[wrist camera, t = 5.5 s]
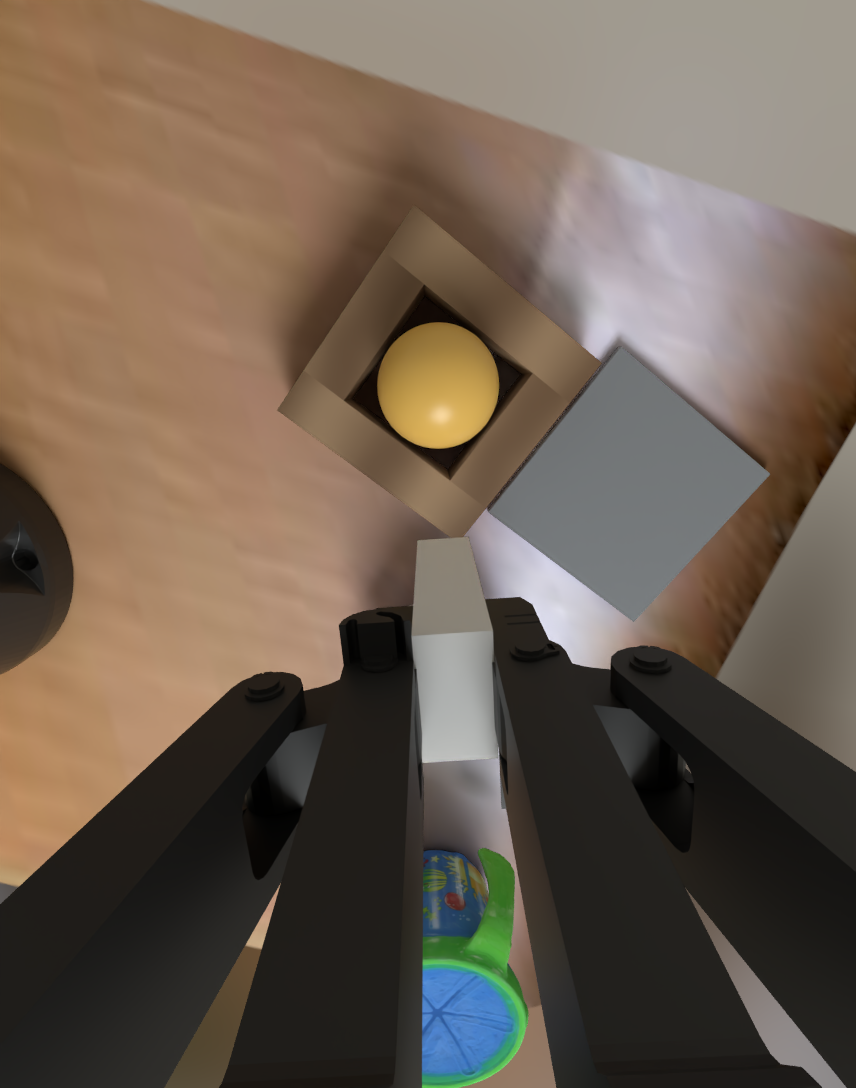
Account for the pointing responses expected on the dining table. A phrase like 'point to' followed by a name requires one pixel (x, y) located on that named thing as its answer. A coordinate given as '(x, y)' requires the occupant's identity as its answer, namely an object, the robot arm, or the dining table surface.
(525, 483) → the coaster
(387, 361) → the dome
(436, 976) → the snack cup
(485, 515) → the dining table surface
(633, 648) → the robot arm
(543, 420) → the brown square tray
